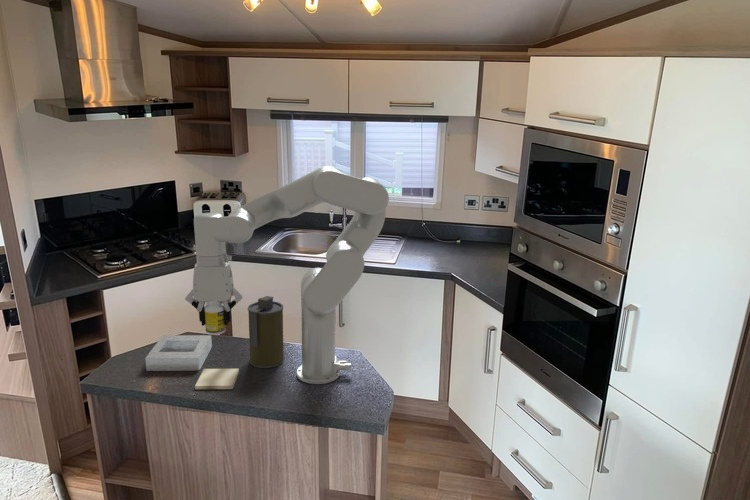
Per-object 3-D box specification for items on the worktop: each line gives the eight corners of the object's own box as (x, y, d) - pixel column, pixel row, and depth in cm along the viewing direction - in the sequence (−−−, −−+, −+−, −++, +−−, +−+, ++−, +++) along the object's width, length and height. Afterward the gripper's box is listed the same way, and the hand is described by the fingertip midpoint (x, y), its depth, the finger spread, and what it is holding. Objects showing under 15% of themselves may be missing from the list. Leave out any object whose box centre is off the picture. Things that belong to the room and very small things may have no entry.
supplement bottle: (220, 336, 145) (218, 302, 142) (202, 334, 146) (199, 300, 143) (229, 328, 150) (227, 295, 147) (212, 326, 151) (209, 293, 148)
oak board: (239, 371, 156) (239, 368, 156) (232, 388, 147) (232, 385, 146) (203, 371, 156) (203, 368, 155) (195, 389, 146) (195, 386, 146)
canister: (263, 350, 170) (261, 290, 165) (290, 357, 166) (290, 296, 161) (241, 364, 161) (238, 301, 156) (270, 372, 157) (268, 307, 152)
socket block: (211, 346, 172) (211, 335, 171) (199, 370, 156) (198, 357, 155) (163, 347, 171) (162, 335, 170) (146, 370, 155) (145, 358, 154)
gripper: (246, 256, 147) (249, 318, 151) (182, 256, 146) (187, 318, 150) (241, 263, 139) (245, 328, 144) (174, 263, 138) (179, 329, 143)
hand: (215, 323), depth 147 cm, fingers closed on supplement bottle, 5 cm apart
